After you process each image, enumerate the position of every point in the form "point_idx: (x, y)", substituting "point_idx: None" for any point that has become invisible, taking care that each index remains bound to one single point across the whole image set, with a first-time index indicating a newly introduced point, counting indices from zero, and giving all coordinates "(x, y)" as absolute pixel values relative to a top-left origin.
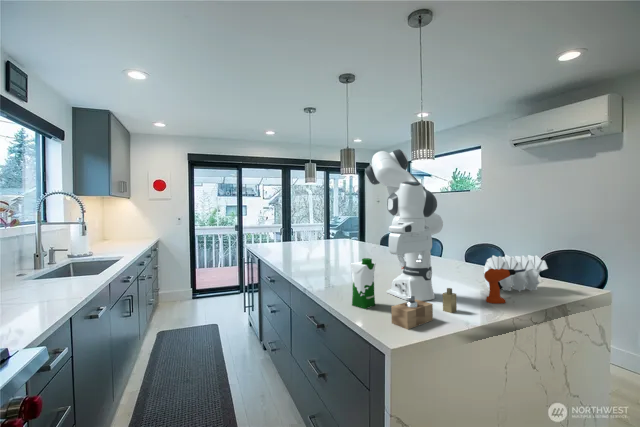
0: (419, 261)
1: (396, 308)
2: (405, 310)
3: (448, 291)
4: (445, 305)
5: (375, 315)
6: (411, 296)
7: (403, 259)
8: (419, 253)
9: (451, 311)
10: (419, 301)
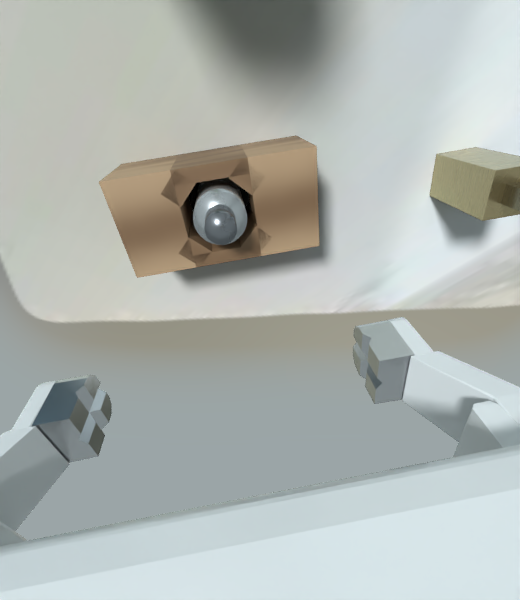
0: (364, 364)
1: (113, 217)
2: (138, 262)
3: (513, 198)
4: (451, 173)
5: (87, 5)
6: (221, 226)
7: (28, 501)
8: (490, 399)
9: (434, 197)
10: (298, 186)
